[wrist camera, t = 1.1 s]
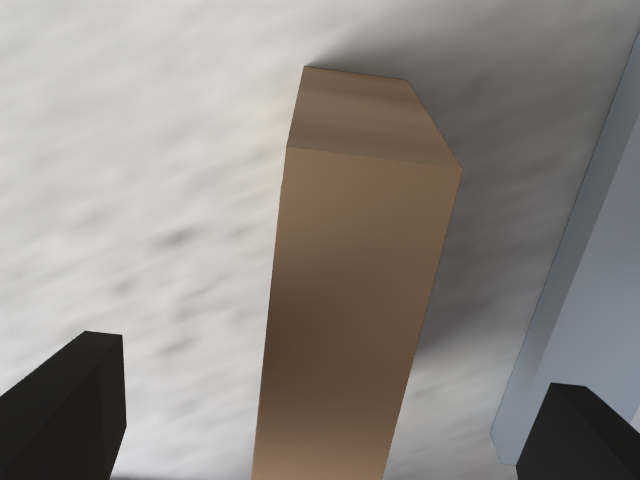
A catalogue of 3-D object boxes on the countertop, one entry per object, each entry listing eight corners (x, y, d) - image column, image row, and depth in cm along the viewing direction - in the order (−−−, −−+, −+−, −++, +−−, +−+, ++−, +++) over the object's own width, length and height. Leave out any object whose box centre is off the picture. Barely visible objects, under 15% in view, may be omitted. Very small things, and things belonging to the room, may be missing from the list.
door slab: (350, 378, 17) (359, 572, 12) (268, 369, 17) (240, 561, 11) (409, 79, 13) (467, 169, 8) (301, 65, 13) (283, 145, 7)
